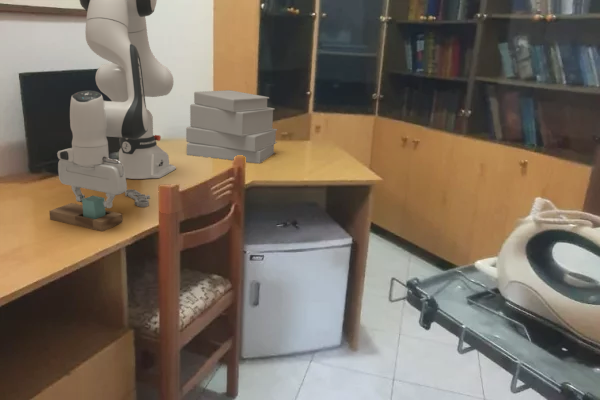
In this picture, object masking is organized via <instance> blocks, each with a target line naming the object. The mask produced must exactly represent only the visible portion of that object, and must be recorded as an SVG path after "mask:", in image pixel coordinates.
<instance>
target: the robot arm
mask: <svg viewBox="0 0 600 400" xmlns="http://www.w3.org/2000/svg"><path fill="white" fill-rule="evenodd" d="M157 1H158V0H79V3H80V5H81V8H83V9H84V10H85V11H86V12H87V13H86V20H85V30H84V31H85V40H86V43H87V45H88V48H89V49H90V50H91V51H92V52H93V53H95V54H96V56H97V55H98V56H99V57H100V58H102V59H104V60H106V61H109V62H110V63H105V64H101V65H100V66H99V67H98V68H97V70H96V72H95V83H96V86H97V88H98V89H99V90H100V92H101V93H103V94H104V95H105V96H106V97H107V98H109V99H110V100H104V97H103V95H102V94H101V93H100V92H99V91H96V90H83V91H77V92H75V93H74V94H72V95H71V97H70V106H69V122H70V123H69V125H70V130H71V133H72V140H71V147H69V148H65V149H62V150H58V151H57V153H56V154H57V158H58V160H59V161H58V163H57V172H58V179H59V181H60V183H61V184H63V185H66V186H71V191H72V192H73V194H74V195H75V202H78V203H82V199H84V198H86V196H85V194H83V192H82V190H81V189H86V190H91V191H96V192H100V193H105V196H106V197H107V198H106V199H105V201H104V202H103V204H104V207H105V209H112V207H113V201H114V199H115V197H116V196H118V195H122V194H125V191H126V190H128V184H127V179H132V180H142V179H143V180H144V179H146V180H147V179H161V178H163V177H164V176H166V175H168V174H169V173H171V172H173V171H175V170H176V169H177V167H176V165H173V164H171V163H170V157H169V154H168V153H167V151H165V150H163V149H162V147H160V146H159V145H157V144H158V143H157V141H158V142H160V141H161V139H162V136H161V135H157V134H154V121H153V120H154V119H153V114H152V113H151V111H150V110H148V109H147V103H146V97H149V98H158V97H163V96H168V95H169V94H170V93H171V91H172V90H173V88H174V77H173V74H172V71H170V70H169V68H168V67H167V66H165V65H163V64H162V63H161V62H160V61H159V60H158V59H157V58H156V57H155V55H154V53H153V51H152V50H151V47H150V43H149V37H148V29H147V21H146V20H147V19H146V17H149V16H151V15H152V14H153V13H154V12H155V10H156V9H155V8H156V6H157ZM107 137H111V138H112V137H113V138H119V146H120V148H119V151H118V159H117V158H110V157H109V155H110V154H109V153H110V152H109V141H108V138H107Z"/></svg>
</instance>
